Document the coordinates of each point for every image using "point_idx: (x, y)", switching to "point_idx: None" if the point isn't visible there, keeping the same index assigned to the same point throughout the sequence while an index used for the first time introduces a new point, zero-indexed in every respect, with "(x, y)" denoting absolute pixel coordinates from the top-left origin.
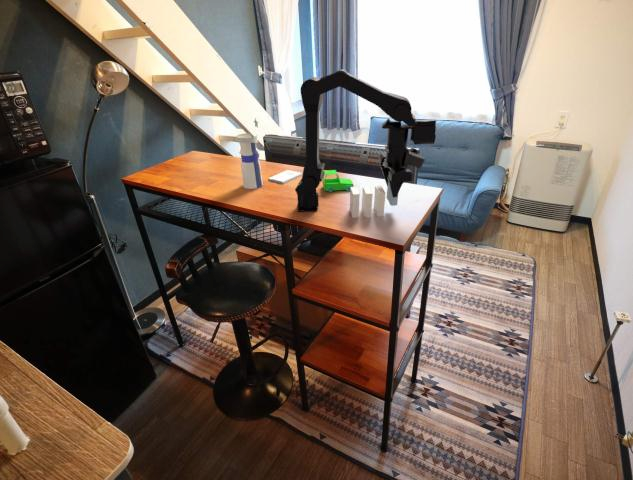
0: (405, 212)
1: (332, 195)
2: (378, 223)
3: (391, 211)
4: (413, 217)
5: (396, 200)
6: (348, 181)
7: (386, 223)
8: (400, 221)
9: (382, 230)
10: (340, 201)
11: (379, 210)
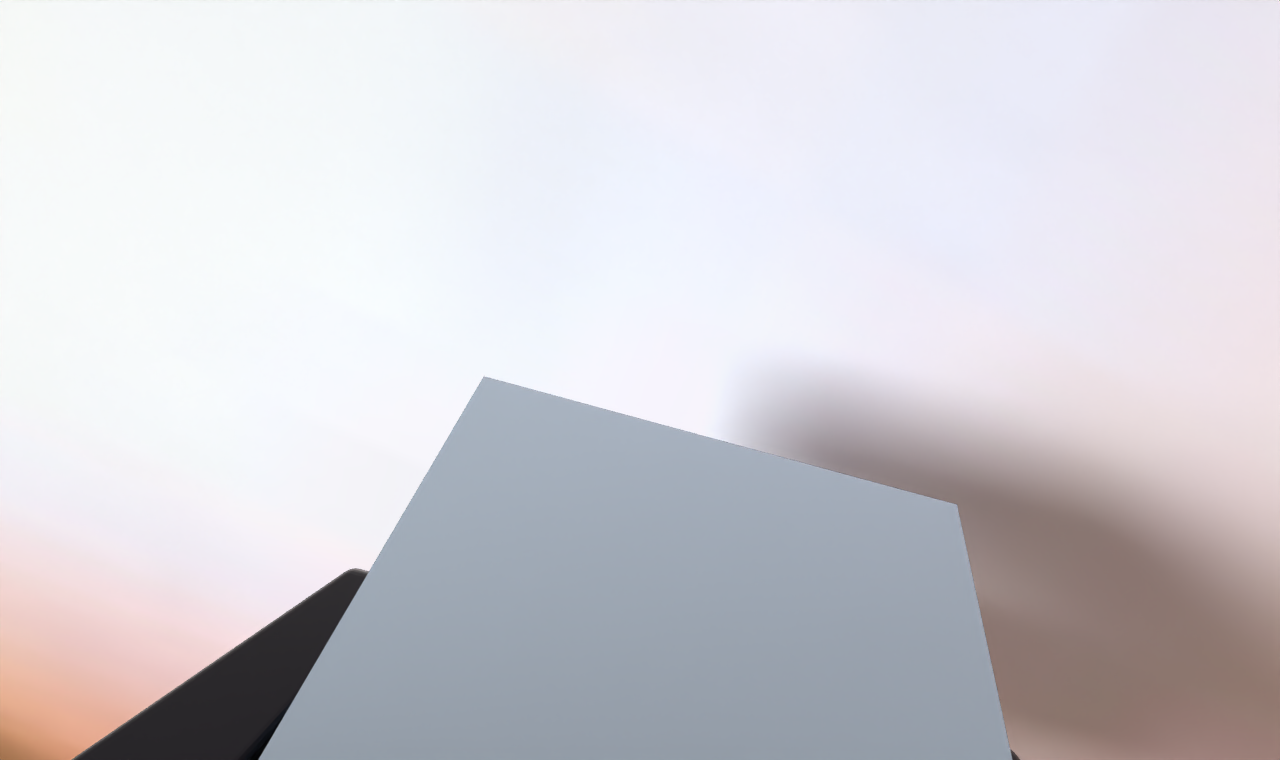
0: (872, 92)
1: (6, 748)
2: (1028, 696)
3: (709, 337)
4: (1206, 48)
5: (965, 626)
6: None
7: (1099, 616)
8: (1185, 399)
9: (1263, 750)
10: None
11: None
